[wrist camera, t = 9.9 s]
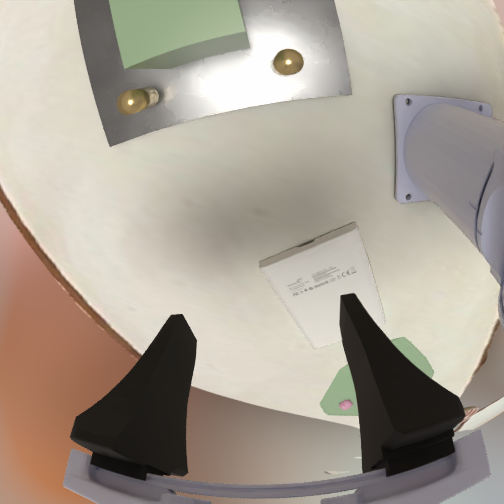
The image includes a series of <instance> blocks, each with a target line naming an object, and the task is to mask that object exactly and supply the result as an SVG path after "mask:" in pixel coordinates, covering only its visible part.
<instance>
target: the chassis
mask: <svg viewBox="0 0 504 504" xmlns="http://www.w3.org/2000/svg"><path fill="white" fill-rule="evenodd" d="M239 3H240V7H241V11H242V15H243V19H244V23H245V27H246V31H247V35H248V39H249V43H250V47H251V48H248V49H243V50H238V51H233V52H228V53H224V54H220V55H216V56H212V57H208V58H204V59H200V60H197V61H193V62H190V63H186V64H183V65H180V66H177V67H174V68H171V69H124V66H123V62H122V58H121V54H120V50H119V46H118V41H117V37H116V32H115V28H114V23H113V19H112V14H111V9H110V4H109V0H74V5H75V12H76V18H77V24H78V29H79V35H80V40H81V45H82V49H83V54H84V58H85V63H86V67H87V71H88V75H89V79H90V83H91V87H92V90H93V94H94V98H95V101H96V105H97V108H98V111H99V115H100V118H101V121H102V125H103V128H104V131H105V134H106V137H107V140H108V143H109V146H110V147H111V146H114V145H116V144H119V143H122V142H124V141H127V140H130V139H132V138H135V137H138V136H141V135H144V134H147V133H150V132H153V131H156V130H159V129H162V128H166V127H169V126H172V125H176V124H179V123H183V122H186V121H190V120H194V119H198V118H202V117H206V116H210V115H214V114H218V113H223V112H227V111H232V110H237V109H242V108H247V107H252V106H258V105H264V104H270V103H276V102H283V101H290V100H298V99H307V98H317V97H329V96H344V95H352V90H351V83H350V76H349V70H348V63H347V58H346V52H345V47H344V42H343V37H342V32H341V28H340V23H339V19H338V15H337V10H336V6H335V3H334V0H239Z"/></svg>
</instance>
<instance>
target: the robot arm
mask: <svg viewBox="0 0 504 504" xmlns="http://www.w3.org/2000/svg"><path fill="white" fill-rule="evenodd" d="M406 99H409V104H408V105H406V103H405V101H406ZM479 106H480V110H479ZM394 114H395V133H396V191H395V198H396V200H397V201H398V202H399V203H411V202H420V201H429V200H432V201H433V202H434V203H435V204H436V205H437V206H438V207H439V208H440V209H441V210H442V211H443V212H444V213H445V214H446V215H447V216H448V217H449V218H450V219H451V220H452V221H453V222H454V223H455V225H456V226H457V227H458V228H459V229H460V230H461V231H462V232H463V233H464V234H465V235H466V237H467V238H468V239H469V240H470V241H471V242H472V243H473V244H474V246H475V247H476V248H477V249H478V250H479V252H480V253H481V254H482V255H483V257H484V258H485V259H486V260H487V262H488V263H489V264H490V266H491V270H490V272H491V274H492V275H493V276H494V278H495V279H496V280H497V282H498V283H499V284H500V286H501V288H500V293H499V297H498V311H499V317H500V322H501V325H502V327H503V330H504V122H503V121H500V120H498V119H496V118H493V117H492V107H491V105H490V104H488V103H484V102H478V101H471V100H465V99H457V98H448V97H438V96H426V95H408V94H398V95H396V96H395V97H394ZM407 194H409V197H408V198H406V195H407ZM339 326H340V332H341V338H342V343H343V347H344V351H345V354H346V358H347V362H348V365H349V369H350V372H351V376H352V380H353V384H354V388H355V393H356V399H357V407H358V415H359V424H360V434H361V450H362V471H363V473H362V474H358V475H353V476H348V477H342V478H336V479H329V480H322V481H314V482H306V483H305V482H304V483H292V484H274V485H238V484H219V483H208V482H198V481H190V480H183V479H176V478H170V477H164V476H163V475H167V476H170V475H176V476H185V475H186V474H187V473H188V468H187V456H186V417H187V403H188V397H189V391H190V386H191V381H192V376H193V371H194V366H195V360H196V347H197V339H196V338H195V336H194V334H193V332H192V331H191V329H190V327H189V325H188V323H187V321H186V320H185V318H184V316H183V314H175V315H171V316H170V317H169V318H168V320H167V321H166V323H165V324H164V325H163V327H162V328H161V330H160V331H159V333H158V334H157V336H156V337H155V339H154V340H153V342H152V343H151V344H150V346H149V347H148V349H147V350H146V351H145V353H144V354H143V355H142V357H141V358H140V359H139V361H138V362H137V363H136V365H135V366H134V367H133V368H132V369H131V371H130V372H129V373H128V374H127V375H126V376H125V377H124V378H123V379H122V380H121V381H120V383H118V384H117V385H116V386H115V387H114V388H113V389H112V390H111V391H110V392H109V393H108V394H107V395H106V396H104V397H103V398H102V399H101V400H100V401H98V402H97V403H96V404H94V405H93V406H92V407H90V408H89V409H88V410H86V411H84V412H83V413H81V414H80V415H79V416H77V417H76V419H75V422H74V426H73V428H72V432H71V435H70V438H71V439H72V440H73V441H74V442H76V443H77V444H79V445H81V446H83V447H85V448H87V449H89V450H90V451H92V452H93V454H92V456H91V455H88V454H86V453H83V452H81V451H78V450H75V449H71V453H70V457H69V460H68V465H67V469H66V473H65V478H64V482H63V486H64V487H66V488H67V489H69V490H71V491H73V492H75V493H77V494H79V495H81V496H83V497H85V498H87V499H89V500H91V501H93V502H95V503H97V504H211V501H206V500H200V499H194V498H189V497H183V496H178V495H177V494H176V493H175V492H174V491H178V492H184V493H190V494H198V495H206V496H216V497H230V498H291V497H303V496H313V495H322V494H329V493H336V492H342V491H347V490H353V489H357V490H356V491H355V493H354V494H348V495H343V496H337V497H332V498H325V499H322V500H321V504H439V503H441V502H443V501H445V500H447V499H449V498H451V497H453V496H455V495H457V494H459V493H461V492H463V491H465V490H467V489H468V488H470V487H472V486H474V485H476V484H477V483H479V482H481V481H483V480H484V479H486V478H488V477H489V476H490V475H491V473H490V468H489V463H488V459H487V454H486V449H485V445H484V441H483V437H482V434H481V430H477V431H475V432H473V433H471V434H469V435H467V436H465V437H463V438H461V439H459V440H457V441H455V442H453V439H452V437H453V436H454V431H453V428H454V427H456V426H457V425H458V424H459V423H460V422H462V421H463V420H464V418H465V416H466V414H465V411H464V408H463V406H462V403H461V401H460V399H459V397H458V396H456V395H455V394H453V393H452V392H450V391H448V390H447V389H445V388H444V387H442V386H441V385H439V384H438V383H437V382H435V381H434V380H433V379H431V378H430V377H429V376H427V375H426V374H425V373H424V372H423V371H421V370H420V369H419V368H418V367H416V366H415V365H414V364H413V363H412V362H411V361H410V360H409V359H408V358H407V357H406V356H405V355H404V354H403V353H402V352H401V351H400V350H399V349H398V348H397V347H396V346H395V345H394V344H393V343H392V342H391V341H390V340H389V338H388V337H387V336H386V335H385V334H384V333H383V331H382V330H381V329H380V328H379V326H378V325H377V324H376V323H375V321H374V320H373V319H372V317H371V316H370V315H369V313H368V312H367V310H366V309H365V308H364V306H363V305H362V303H361V302H360V300H359V299H358V297H357V295H356V294H355V293H350V294H344V295H340V318H339ZM358 488H359V489H358Z"/></svg>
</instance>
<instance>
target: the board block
mask: <svg viewBox="0 0 504 504" xmlns="http://www.w3.org/2000/svg"><path fill="white" fill-rule="evenodd" d="M109 4H110V9H111V14H112V19H113V23H114V28H115V32H116V37H117V41H118V46H119V50H120V54H121V58H122V62H123V66H124V69H171V68H174V67H177V66H180V65H183V64H186V63H190V62H193V61H197V60H200V59H204V58H208V57H212V56H216V55H220V54H224V53H228V52H233V51H238V50H243V49H248V48H251V47H250V43H249V39H248V35H247V31H246V27H245V23H244V19H243V15H242V11H241V7H240V3H239V0H109Z"/></svg>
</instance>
